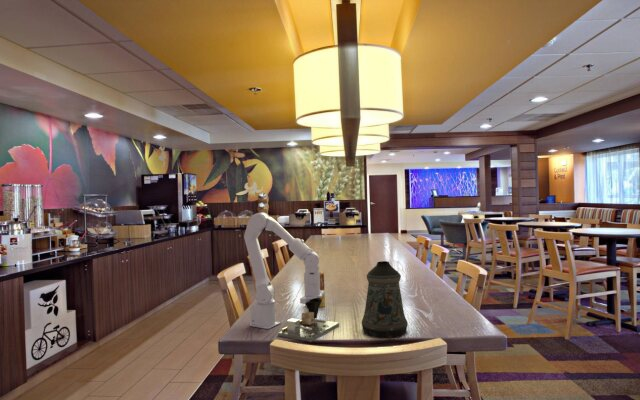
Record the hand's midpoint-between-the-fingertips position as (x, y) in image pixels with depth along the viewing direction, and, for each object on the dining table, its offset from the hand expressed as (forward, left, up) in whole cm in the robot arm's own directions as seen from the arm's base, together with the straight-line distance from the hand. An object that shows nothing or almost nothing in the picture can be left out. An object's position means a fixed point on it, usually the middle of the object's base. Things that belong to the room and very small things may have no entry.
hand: (313, 317), depth 166 cm
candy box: (-14, +23, -3) cm, 27 cm away
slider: (+3, -4, -1) cm, 5 cm away
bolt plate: (+3, -7, -2) cm, 8 cm away
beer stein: (+27, +6, -3) cm, 28 cm away
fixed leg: (+3, -13, -1) cm, 14 cm away
